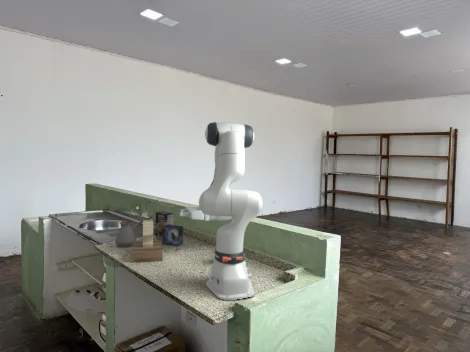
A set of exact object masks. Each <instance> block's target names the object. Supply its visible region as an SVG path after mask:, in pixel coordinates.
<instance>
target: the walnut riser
mask: <svg viewBox="0 0 470 352" xmlns="http://www.w3.org/2000/svg"><path fill="white" fill-rule="evenodd" d="M163 251H164V250H163V244H162V239H153V247H143V240H136V241H134V244H133V248H132V263H133V262H136V263H151V262H163V260H164V257H163V254H164V253H163Z"/></svg>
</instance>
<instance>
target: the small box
mask: <svg viewBox="0 0 470 352" xmlns="http://www.w3.org/2000/svg"><path fill="white" fill-rule="evenodd" d="M161 243H162V245H167V246H172V247H180V246H181V245H183V244H184V226H183V225H176V224H175V225H174V224H173V225H165V226H163V231H162V239H161Z"/></svg>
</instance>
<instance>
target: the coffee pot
mask: <svg viewBox="0 0 470 352" xmlns="http://www.w3.org/2000/svg"><path fill="white" fill-rule="evenodd" d="M144 220H153V221H154V219H153V216H149V217H147V218H145V219H144ZM119 224H120V228H119V230H118V233H117V235H116V236H115V240H114V242H115V244H116V245H117V246H118V247H120V246H129V247H132V246H134V241H137V238H136V237H137V236H136V235H135V233H134V230H133V228H134V227H136V226H139V225H141V224H143V220H140V221H138V223H136V224H134V225H132V221H121V222H119ZM131 225H132V226H131Z"/></svg>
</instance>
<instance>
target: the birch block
mask: <svg viewBox="0 0 470 352" xmlns="http://www.w3.org/2000/svg"><path fill="white" fill-rule="evenodd" d="M142 221H143V223H142V241H143V247H153V240H154V219H153V220H152V219H149V220H145V219H143V220H142Z"/></svg>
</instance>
